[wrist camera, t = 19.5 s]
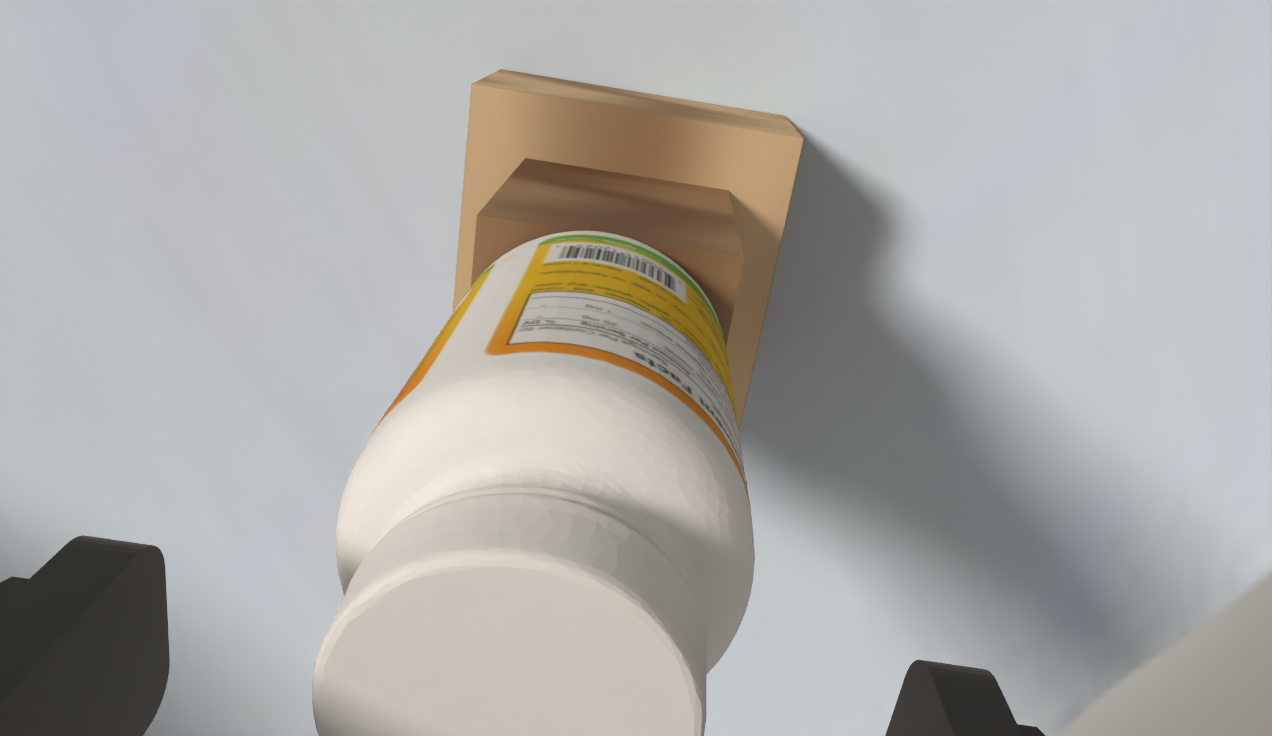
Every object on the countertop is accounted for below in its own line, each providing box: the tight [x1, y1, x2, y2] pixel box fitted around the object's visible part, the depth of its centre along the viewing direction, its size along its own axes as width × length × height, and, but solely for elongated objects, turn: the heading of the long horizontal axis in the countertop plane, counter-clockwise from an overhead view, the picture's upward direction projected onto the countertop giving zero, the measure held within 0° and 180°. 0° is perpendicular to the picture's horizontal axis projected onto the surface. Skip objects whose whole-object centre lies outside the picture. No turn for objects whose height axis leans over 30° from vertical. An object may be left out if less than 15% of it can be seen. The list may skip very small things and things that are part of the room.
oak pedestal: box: [453, 69, 803, 432], centre depth 26 cm, size 8×8×4 cm
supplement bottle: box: [312, 231, 755, 736], centre depth 14 cm, size 5×5×10 cm
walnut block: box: [471, 158, 744, 345], centre depth 21 cm, size 5×5×6 cm
